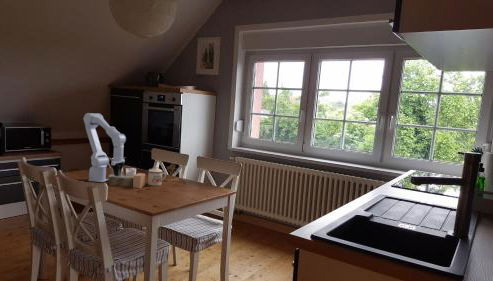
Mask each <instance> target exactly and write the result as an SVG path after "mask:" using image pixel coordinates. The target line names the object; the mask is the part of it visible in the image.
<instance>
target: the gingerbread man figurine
mask: <svg viewBox="0 0 493 281" xmlns="http://www.w3.org/2000/svg"><path fill="white" fill-rule="evenodd" d="M166 170H167V171H168V172H169V173H170V174H169V175H168V177H167V178H165V179H164V181H165V182H167V183H168V182H169V183H170V182H179V181H180V179H178V178H177V176H176V174H178V171H179V170H178V169H177V168H176V164H175V163H171V164H170V165H169V166H167V167H166ZM173 175H174V176H173Z"/></svg>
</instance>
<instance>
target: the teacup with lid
mask: <svg viewBox="0 0 493 281" xmlns="http://www.w3.org/2000/svg"><path fill="white" fill-rule="evenodd" d="M166 175H167V174H166V173H165V172H163V170H162V169H160V168H158V166H154V167H152V168H149V169H148V175H147V176H148V177H147V178H148V179H147V184H148V185H149V186H153V187H155V186H162V181H163V180H164V181H165V179H166Z"/></svg>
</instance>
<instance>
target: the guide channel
mask: <svg viewBox="0 0 493 281" xmlns="http://www.w3.org/2000/svg"><path fill="white" fill-rule="evenodd" d="M108 178H109V180H108V185H109V186H117V187H119V186H120V187H128V188H130V187H131V188H133V177H132V179H122V178H111V177H109V176H108Z"/></svg>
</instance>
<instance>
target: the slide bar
mask: <svg viewBox="0 0 493 281" xmlns="http://www.w3.org/2000/svg"><path fill="white" fill-rule="evenodd" d="M120 173H121V174H122V171H121V169H119V174H118V176H115V175H114V174H111V173H110V174H109V175H108V178H107V179H108V180H107V181H109V177H111V178H122V179H132V178H133V176H132V175H131V176H130V175H121V174H120Z"/></svg>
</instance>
